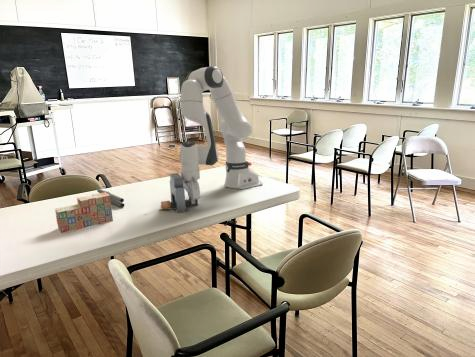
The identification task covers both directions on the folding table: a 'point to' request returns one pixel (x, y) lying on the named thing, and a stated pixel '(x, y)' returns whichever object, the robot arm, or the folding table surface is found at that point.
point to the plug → (171, 205)
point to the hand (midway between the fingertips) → (192, 202)
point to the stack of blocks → (85, 212)
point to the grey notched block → (177, 192)
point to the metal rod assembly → (113, 198)
